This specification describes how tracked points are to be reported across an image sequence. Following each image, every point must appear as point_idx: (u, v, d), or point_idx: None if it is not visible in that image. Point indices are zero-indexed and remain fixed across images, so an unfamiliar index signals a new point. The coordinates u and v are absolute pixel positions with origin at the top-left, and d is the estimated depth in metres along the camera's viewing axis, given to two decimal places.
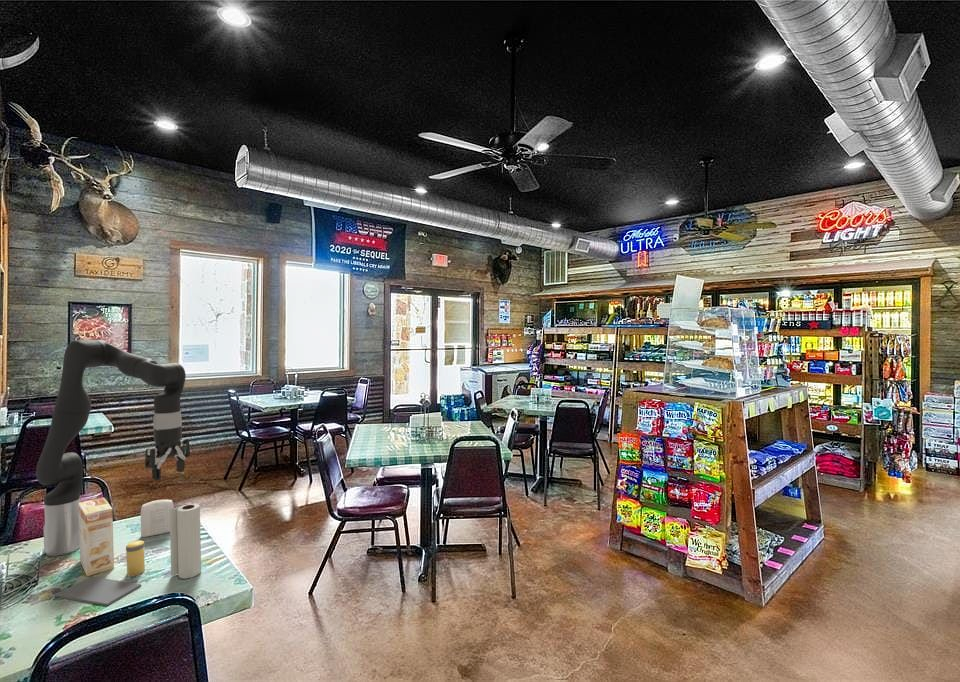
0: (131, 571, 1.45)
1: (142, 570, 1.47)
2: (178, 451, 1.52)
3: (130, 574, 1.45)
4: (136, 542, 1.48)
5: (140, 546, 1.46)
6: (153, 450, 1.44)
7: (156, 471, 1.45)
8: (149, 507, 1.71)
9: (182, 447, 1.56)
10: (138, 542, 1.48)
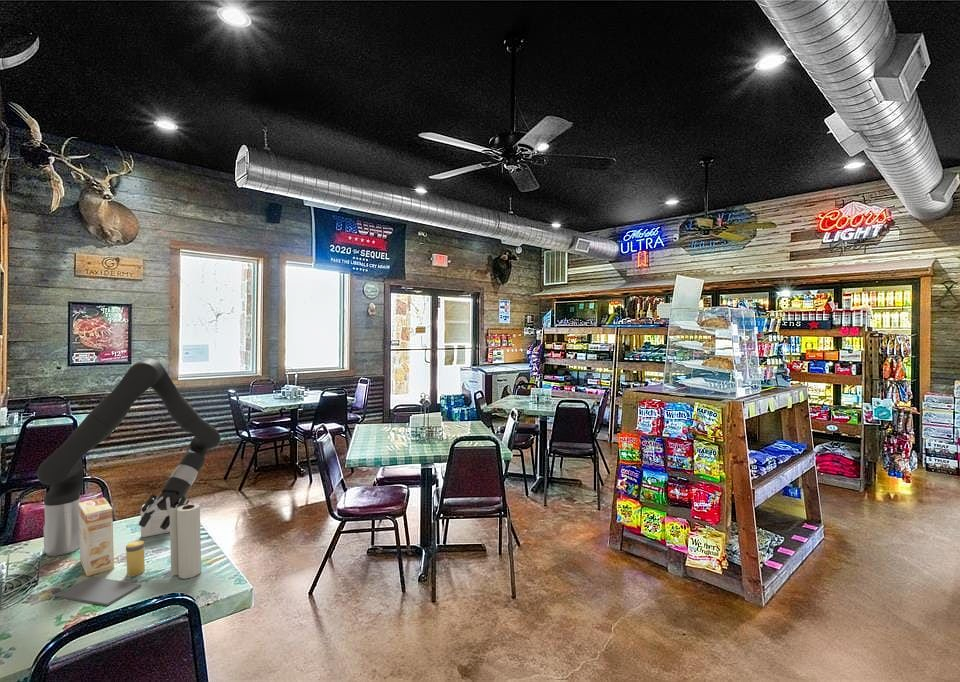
0: (131, 571, 1.45)
1: (142, 570, 1.47)
2: None
3: (130, 574, 1.45)
4: (136, 542, 1.48)
5: (140, 546, 1.46)
6: None
7: None
8: None
9: (151, 502, 1.58)
10: (138, 542, 1.48)
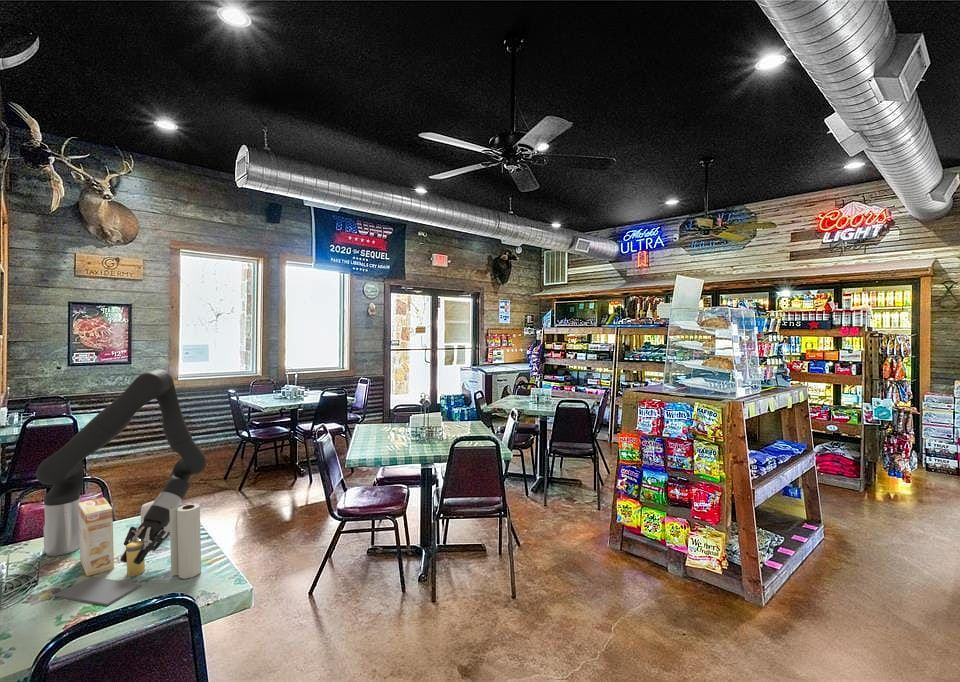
0: (131, 571, 1.45)
1: (142, 570, 1.47)
2: None
3: (130, 574, 1.45)
4: (136, 542, 1.48)
5: (140, 546, 1.46)
6: None
7: None
8: (149, 507, 1.71)
9: (132, 535, 1.51)
10: (138, 542, 1.48)
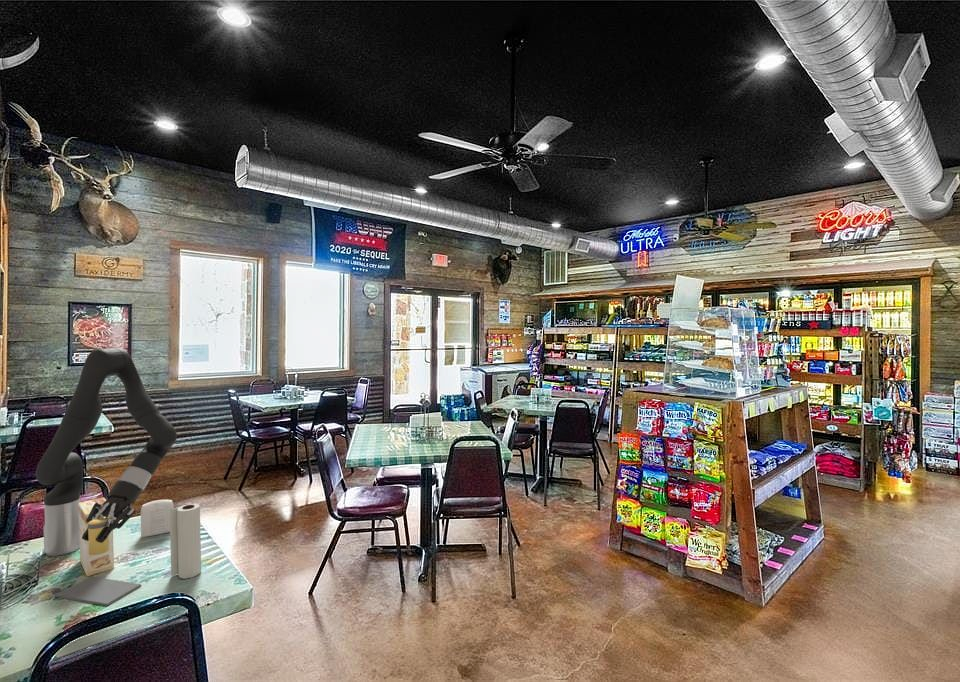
0: (93, 550, 1.34)
1: (106, 549, 1.36)
2: None
3: (92, 553, 1.34)
4: (99, 519, 1.37)
5: (103, 523, 1.35)
6: None
7: None
8: (149, 507, 1.71)
9: (96, 512, 1.40)
10: (102, 519, 1.37)
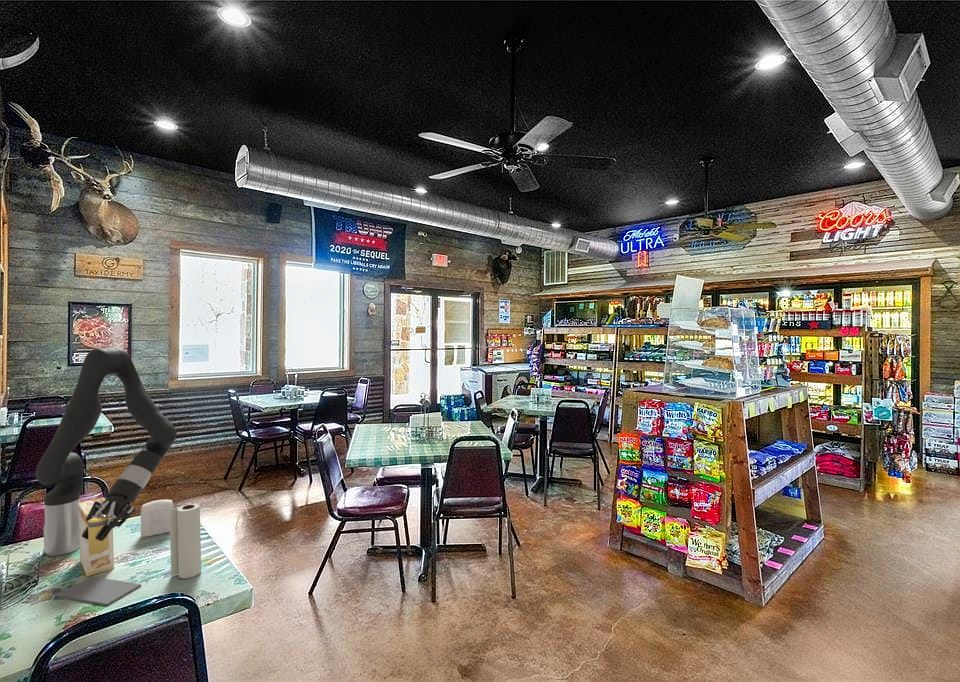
0: (93, 548, 1.34)
1: (106, 547, 1.36)
2: None
3: (92, 551, 1.34)
4: (99, 517, 1.37)
5: (103, 521, 1.35)
6: None
7: None
8: (149, 507, 1.71)
9: (96, 510, 1.40)
10: (101, 517, 1.37)
